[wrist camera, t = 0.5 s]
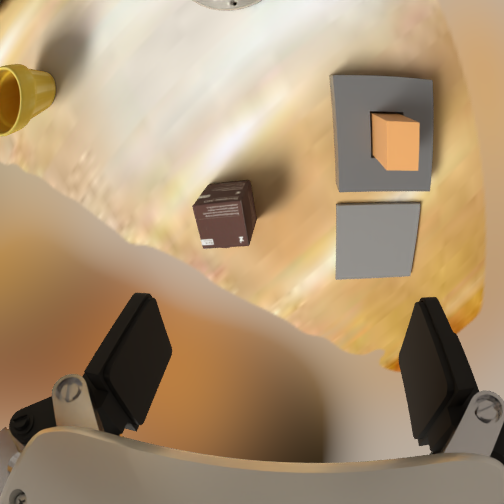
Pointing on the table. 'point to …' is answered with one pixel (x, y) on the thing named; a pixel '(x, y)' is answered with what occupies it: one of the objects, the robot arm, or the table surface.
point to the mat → (375, 239)
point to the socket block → (359, 132)
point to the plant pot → (23, 96)
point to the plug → (395, 140)
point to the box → (226, 214)
